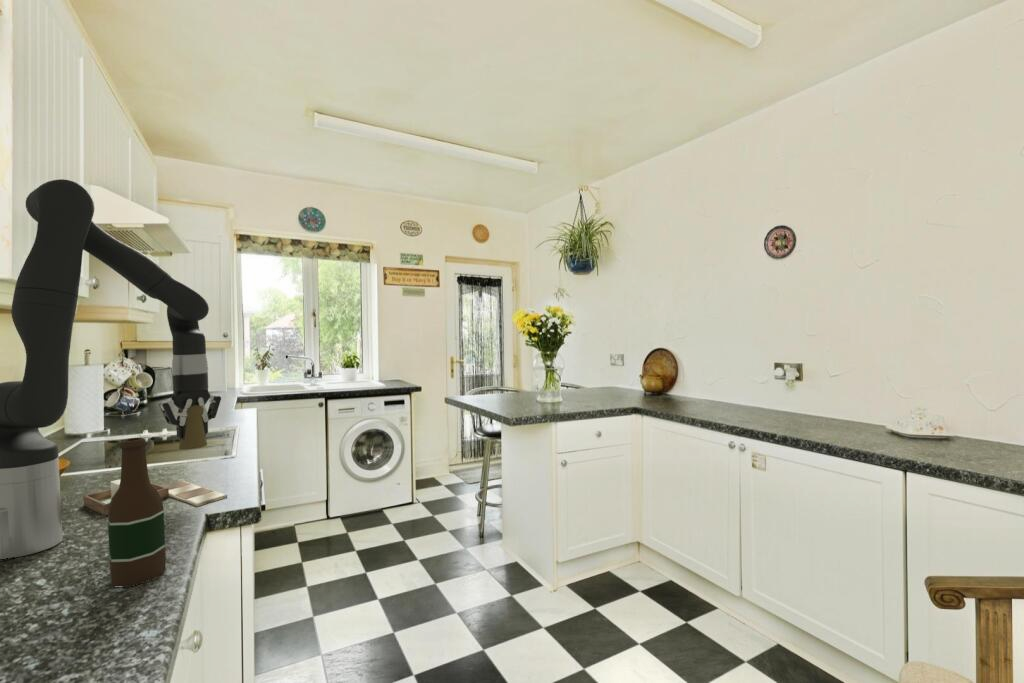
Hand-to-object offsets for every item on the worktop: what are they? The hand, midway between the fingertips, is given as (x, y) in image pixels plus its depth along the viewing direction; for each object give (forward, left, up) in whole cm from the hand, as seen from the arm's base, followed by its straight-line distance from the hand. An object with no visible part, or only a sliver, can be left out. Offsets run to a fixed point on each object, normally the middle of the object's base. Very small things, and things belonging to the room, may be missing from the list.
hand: (192, 437), depth 119 cm
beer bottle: (-25, -36, -15) cm, 46 cm away
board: (0, +3, -15) cm, 15 cm away
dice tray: (-10, +11, -15) cm, 22 cm away
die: (-10, +11, -15) cm, 21 cm away
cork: (0, 0, -2) cm, 2 cm away
